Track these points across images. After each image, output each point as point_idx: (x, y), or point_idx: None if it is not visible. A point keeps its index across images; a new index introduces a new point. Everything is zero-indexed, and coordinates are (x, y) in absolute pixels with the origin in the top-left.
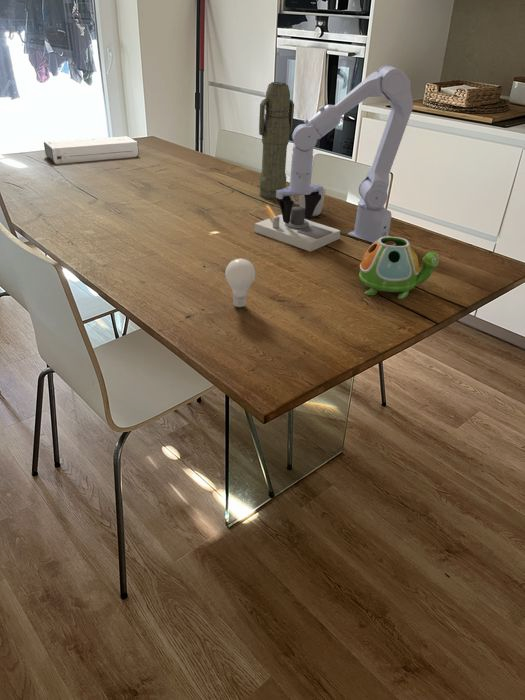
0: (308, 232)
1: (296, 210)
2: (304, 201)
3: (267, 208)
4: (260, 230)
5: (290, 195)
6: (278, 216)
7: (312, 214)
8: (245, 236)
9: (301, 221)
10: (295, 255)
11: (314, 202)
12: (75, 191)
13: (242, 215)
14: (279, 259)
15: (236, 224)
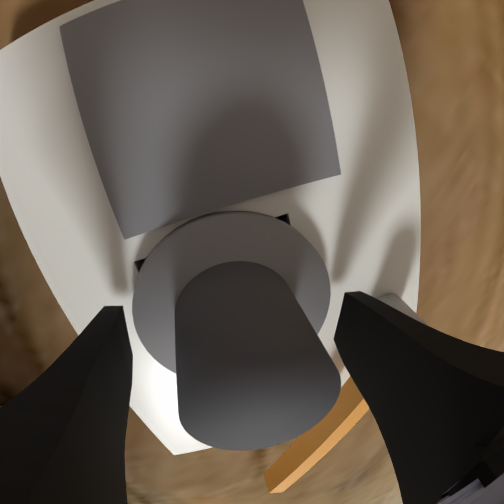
0: (274, 97)
1: (319, 376)
2: None
3: (303, 471)
4: None
5: (468, 500)
6: None
7: (85, 328)
8: (441, 315)
9: (241, 277)
10: (434, 12)
11: (52, 432)
12: None
13: None
14: (495, 43)
15: (372, 415)
